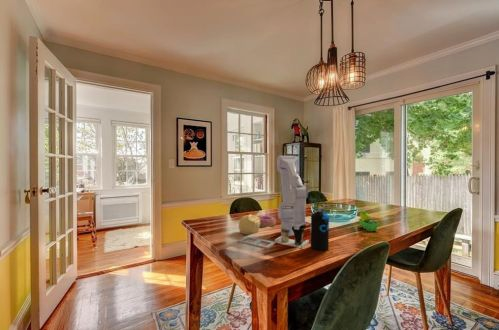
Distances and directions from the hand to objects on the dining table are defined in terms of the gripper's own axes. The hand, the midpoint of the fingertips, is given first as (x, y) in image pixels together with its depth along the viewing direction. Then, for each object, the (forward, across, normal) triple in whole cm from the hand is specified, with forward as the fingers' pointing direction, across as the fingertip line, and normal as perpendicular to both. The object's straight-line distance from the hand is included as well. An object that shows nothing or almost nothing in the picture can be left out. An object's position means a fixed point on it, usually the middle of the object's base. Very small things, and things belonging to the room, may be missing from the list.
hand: (298, 240), depth 113 cm
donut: (+3, -34, -27) cm, 43 cm away
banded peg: (+1, 0, 0) cm, 1 cm away
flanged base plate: (+3, -1, -3) cm, 5 cm away
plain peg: (+1, -1, -7) cm, 7 cm away
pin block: (+3, +6, -19) cm, 20 cm away
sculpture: (+3, -12, -29) cm, 32 cm away
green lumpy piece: (+3, -49, +34) cm, 60 cm away
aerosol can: (+3, +2, +10) cm, 10 cm away
